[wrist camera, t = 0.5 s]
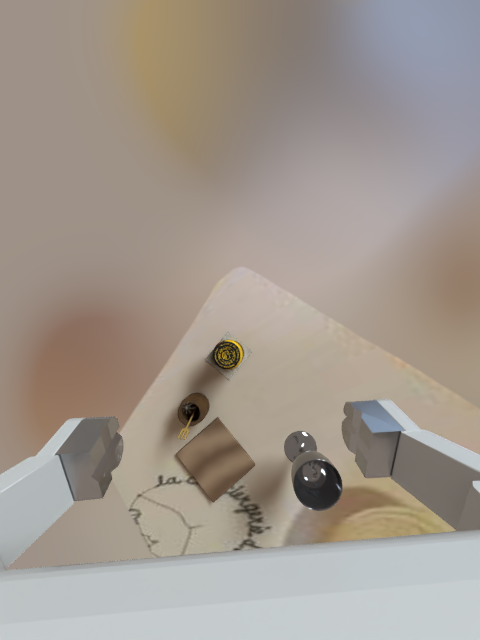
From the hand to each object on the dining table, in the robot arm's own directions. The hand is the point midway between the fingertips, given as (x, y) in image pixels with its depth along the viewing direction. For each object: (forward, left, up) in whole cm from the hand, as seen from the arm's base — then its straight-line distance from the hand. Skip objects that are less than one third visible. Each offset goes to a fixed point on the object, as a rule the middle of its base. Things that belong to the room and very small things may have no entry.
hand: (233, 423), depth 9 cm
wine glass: (-23, +5, -50) cm, 55 cm away
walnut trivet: (-12, +21, -50) cm, 55 cm away
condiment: (+3, +4, -50) cm, 50 cm away
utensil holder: (-1, +17, -50) cm, 53 cm away
